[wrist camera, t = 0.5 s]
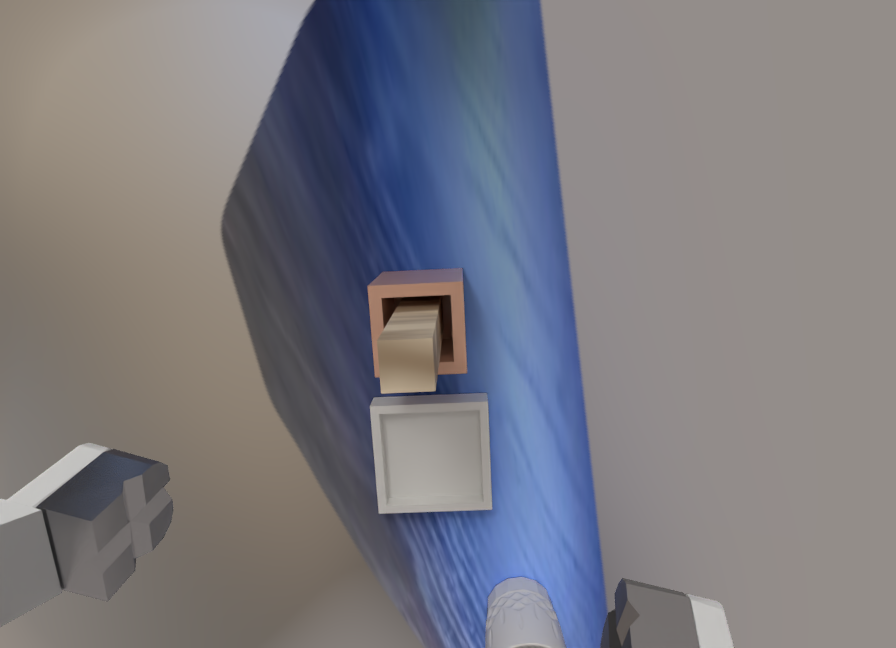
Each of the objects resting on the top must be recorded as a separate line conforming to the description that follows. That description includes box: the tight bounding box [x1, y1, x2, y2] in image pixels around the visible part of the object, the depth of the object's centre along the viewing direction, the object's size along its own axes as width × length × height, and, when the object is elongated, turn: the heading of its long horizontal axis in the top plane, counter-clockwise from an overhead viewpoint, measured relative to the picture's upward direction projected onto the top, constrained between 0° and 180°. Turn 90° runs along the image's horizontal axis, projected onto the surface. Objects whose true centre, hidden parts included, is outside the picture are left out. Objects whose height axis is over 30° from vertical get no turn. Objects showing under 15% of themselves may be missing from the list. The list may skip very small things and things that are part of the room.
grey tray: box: [370, 393, 492, 514], centre depth 56 cm, size 11×11×2 cm
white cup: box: [485, 577, 566, 648], centre depth 56 cm, size 8×8×10 cm
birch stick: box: [377, 295, 444, 394], centre depth 44 cm, size 3×3×18 cm
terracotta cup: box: [368, 268, 467, 377], centre depth 50 cm, size 7×7×9 cm
